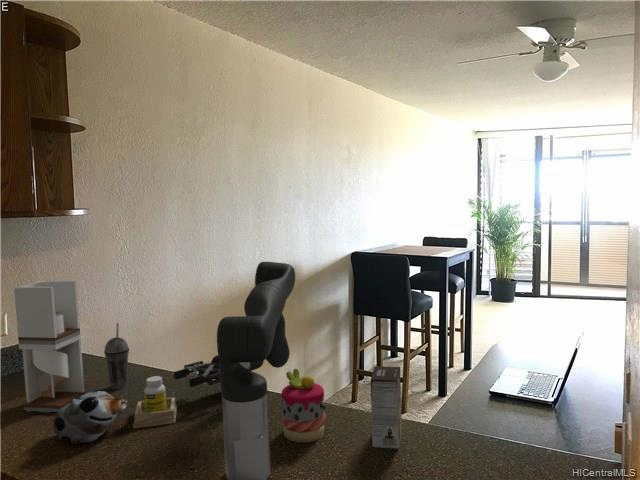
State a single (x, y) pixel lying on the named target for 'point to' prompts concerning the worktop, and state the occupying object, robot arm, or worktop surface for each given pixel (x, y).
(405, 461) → the worktop surface
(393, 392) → the coffee box
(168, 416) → the birch dock
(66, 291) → the white shelf stand
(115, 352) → the beverage cup
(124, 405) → the lucky cat figurine
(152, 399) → the supplement bottle
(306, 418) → the cake
